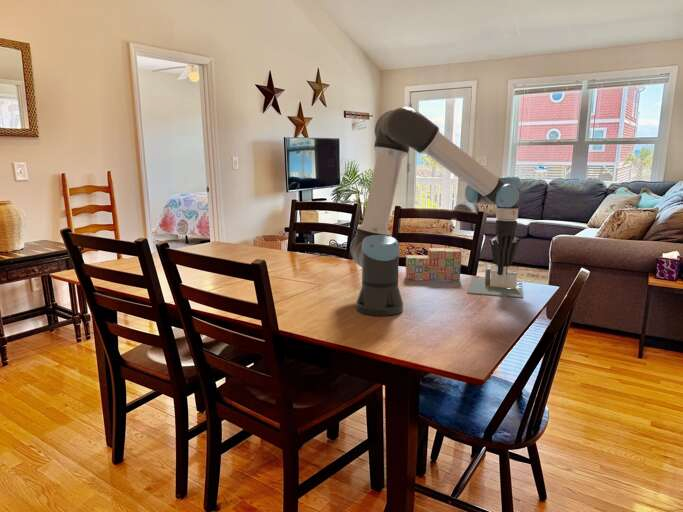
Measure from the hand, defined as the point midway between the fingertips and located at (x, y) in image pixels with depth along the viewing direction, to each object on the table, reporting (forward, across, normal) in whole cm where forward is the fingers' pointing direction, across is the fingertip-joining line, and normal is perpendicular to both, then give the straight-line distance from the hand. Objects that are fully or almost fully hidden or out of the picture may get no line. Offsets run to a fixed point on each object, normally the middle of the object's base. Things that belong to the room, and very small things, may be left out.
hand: (501, 283), depth 176 cm
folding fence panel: (+2, +2, +2) cm, 3 cm away
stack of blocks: (+3, -12, +26) cm, 29 cm away
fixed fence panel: (+3, +3, +10) cm, 11 cm away
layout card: (+3, +1, +4) cm, 5 cm away
